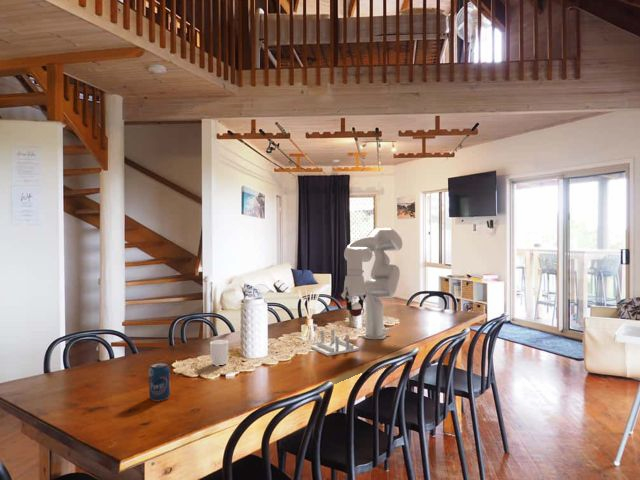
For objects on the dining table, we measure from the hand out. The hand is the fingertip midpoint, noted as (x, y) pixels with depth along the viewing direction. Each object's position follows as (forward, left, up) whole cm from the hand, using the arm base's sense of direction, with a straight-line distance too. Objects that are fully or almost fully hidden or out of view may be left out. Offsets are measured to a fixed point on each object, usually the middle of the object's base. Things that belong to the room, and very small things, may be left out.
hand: (354, 309), depth 216 cm
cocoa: (0, 0, -3) cm, 3 cm away
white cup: (+65, -12, -20) cm, 69 cm away
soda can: (+95, +15, -20) cm, 98 cm away
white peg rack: (+9, -5, -20) cm, 22 cm away
